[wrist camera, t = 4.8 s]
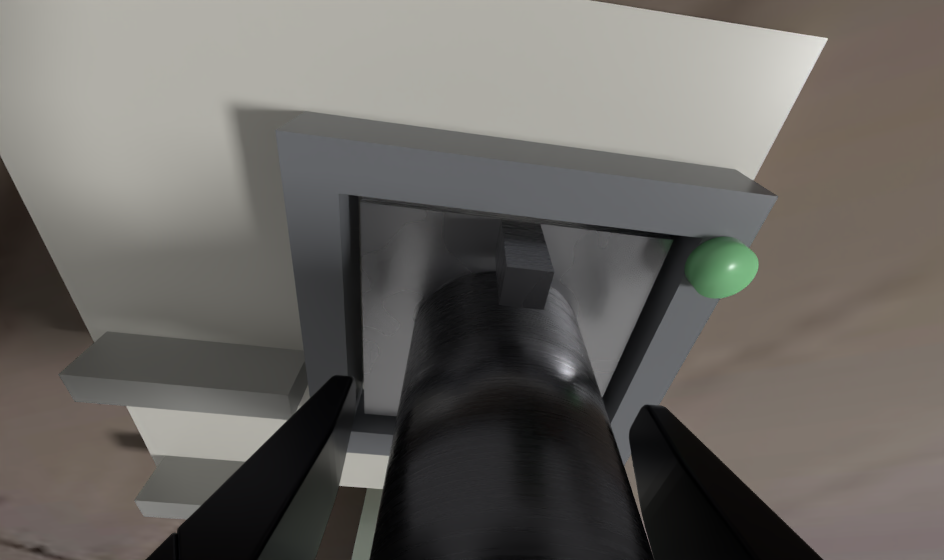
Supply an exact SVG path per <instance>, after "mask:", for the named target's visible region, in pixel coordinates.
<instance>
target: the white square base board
mask: <svg viewBox="0 0 944 560" xmlns="http://www.w3.org/2000/svg"><path fill="white" fill-rule="evenodd" d="M827 40H828V38H822V37H816V36H810V35H803V34H797V33H791V32H785V31H778V30H772V29H766V28H760V27H753V26H747V25H741V24H735V23H728V22H722V21H716V20H710V19H703V18H697V17H691V16H685V15H678V14H672V13H666V12H660V11H653V10H647V9H641V8H635V7H628V6H622V5H616V4H610V3H603V2H597V1H591V0H0V156H1V158H2V160H3V162H4V164H5V166H6V168H7V170H8V172H9V174H10V176H11V178H12V180H13V182H14V184H15V186H16V188H17V190H18V192H19V194H20V196H21V198H22V200H23V202H24V204H25V206H26V208H27V210H28V212H29V214H30V216H31V218H32V220H33V222H34V224H35V226H36V228H37V230H38V232H39V234H40V236H41V237H42V239H43V241H44V243H45V245H46V247H47V249H48V251H49V253H50V255H51V257H52V259H53V261H54V263H55V265H56V267H57V269H58V271H59V273H60V275H61V277H62V279H63V281H64V283H65V285H66V287H67V289H68V291H69V293H70V295H71V297H72V299H73V301H74V303H75V305H76V307H77V309H78V311H79V313H80V315H81V317H82V319H83V321H84V323H85V325H86V327H87V329H88V331H89V333H90V335H91V337H92V339H93V341H94V343H93V344H92V345H91V346H90V347H89V348H88V349H86V350H85V351H84V352H83V353H82V354H81V355H80V356H79V357H77V358H76V359H75V360H74V361H73V362H72V363H71V364H70V365H68V366H67V367H66V368H65V369H64V370H63V371H62V372H61V373H59V374H58V375H59V376H60V378H61V380H62V381H63V383H64V385H65V386H66V388H67V390H68V391H69V393H70V395H71V396H72V398H73V400H74V401H75V402H86V403H97V404H109V405H121V406H126V407H127V409H128V411H129V413H130V415H131V417H132V419H133V420H134V422H135V424H136V426H137V428H138V430H139V432H140V434H141V436H142V438H143V440H144V442H145V444H146V446H147V448H148V450H149V452H150V454H151V456H152V458H153V460H154V462H155V464H156V466H157V468H156V470H155V471H154V472H153V474H152V475H151V477H150V478H149V480H148V481H147V483H146V484H145V486H144V487H143V488H142V490H141V491H140V493H139V494H138V496H137V497H136V499H135V500H134V501H135V503H136V504H137V506H138V508H139V509H140V511H141V513H142V514H143V516H146V517H160V518H174V519H188V518H189V517H190V516H191V515H192V514H193V513H194V512H195V511H196V510H197V509H198V508H199V507H200V506H201V505H202V504H203V503H204V502H205V501H206V500H207V499H208V498H209V497H210V496H211V495H212V494H213V493H214V492H215V491H216V490H217V489H218V488H219V487H220V486H221V485H222V484H223V483H224V482H225V481H226V480H227V479H228V478H229V477H230V476H231V475H232V474H233V473H234V472H235V471H236V470H237V469H238V468H239V467H241V466H242V465H243V464H244V463H245V462H246V461H247V460H248V459H249V458H250V457H251V456H252V455H253V454H254V453H255V452H256V451H257V450H258V449H259V448H260V447H261V446H262V445H263V444H264V443H265V442H266V441H267V440H268V439H269V438H270V437H271V436H272V435H273V434H274V433H275V432H276V431H277V430H278V429H279V428H280V427H281V426H282V425H283V424H284V423H285V422H286V421H287V420H288V419H289V418H290V417H291V416H292V415H293V414H294V413H295V412H296V411H297V410H298V409H299V408H300V407H301V406H302V405H303V404H304V403H305V402H306V401H307V400H308V399H309V398H310V397H311V396H312V395H313V394H315V393H316V392H317V391H318V390H319V389H320V388H321V387H322V386H323V385H324V384H325V383H326V382H327V381H328V380H329V379H330V378H331V377H332V376H334V375H343V376H352V377H354V379H355V387H356V411H355V416H354V421H353V425H352V430H351V435H350V439H349V444H348V448H347V453H346V457H345V462H344V467H343V471H342V476H341V480H340V484H339V486H348V487H362V488H375V489H383V486H384V481H385V475H386V470H387V465H388V460H389V454H390V449H391V444H392V438H393V433H394V428H395V423H396V417H397V416H387V415H376V414H365V411H364V364H363V316H362V269H361V222H360V201H361V200H362V198H363V196H364V197H372V198H380V199H388V200H396V201H404V202H412V203H420V204H429V205H437V206H445V207H453V208H461V209H469V210H477V211H485V212H493V213H502V214H510V215H518V216H526V217H534V218H542V219H550V220H558V221H567V222H575V223H583V224H591V225H599V226H607V227H615V228H623V229H632V230H640V231H648V232H656V233H664V234H669V236H670V237H671V238H672V239H673V242H672V245H671V247H670V249H669V251H668V253H667V256H666V258H665V260H664V262H663V265H662V267H661V269H660V271H659V273H658V276H657V278H656V280H655V282H654V284H653V287H652V289H651V291H650V293H649V295H648V298H647V300H646V302H645V304H644V307H643V309H642V311H641V313H640V315H639V318H638V320H637V322H636V324H635V326H634V329H633V331H632V333H631V335H630V338H629V340H628V342H627V344H626V346H625V349H624V351H623V353H622V355H621V357H620V360H619V362H618V364H617V366H616V368H615V371H614V373H613V375H612V377H611V380H610V382H609V384H608V386H607V388H606V391H605V393H604V395H603V397H602V399H603V402H604V406H605V409H606V412H607V415H608V418H609V421H610V424H611V427H612V430H613V433H614V437H615V440H616V443H617V446H618V449H619V452H620V455H621V458H622V461H623V465H625V463H626V462H627V460H628V458H629V456H630V455H631V449H630V443H629V430H630V427H631V425H632V424H633V422H634V420H635V418H636V416H637V414H638V412H639V411H640V409H641V407H642V406H644V405H646V404H649V405H659V404H660V402H661V401H662V399H663V397H664V395H665V394H666V392H667V390H668V388H669V387H670V385H671V383H672V381H673V380H674V378H675V376H676V374H677V373H678V371H679V369H680V367H681V366H682V364H683V362H684V360H685V359H686V357H687V355H688V353H689V352H690V350H691V348H692V346H693V345H694V343H695V341H696V339H697V338H698V336H699V334H700V333H701V331H702V329H703V327H704V326H705V324H706V322H707V320H708V319H709V317H710V315H711V313H712V312H713V310H714V308H715V306H716V305H717V303H718V301H719V299H720V298H724V297H728V296H731V295H734V294H736V293H738V292H739V291H741V290H743V289H744V288H745V287H746V286H747V285H748V284H750V282H751V281H752V280H753V279H754V277H755V275H756V273H757V270H758V259H757V257H756V255H755V254H754V253H753V252H752V251H751V250H750V249H749V247H750V245H751V244H752V242H753V240H754V238H755V237H756V235H757V233H758V231H759V230H760V228H761V226H762V224H763V223H764V221H765V219H766V217H767V216H768V214H769V212H770V210H771V209H772V207H773V205H774V203H775V202H776V200H777V198H778V196H777V195H775V194H774V193H772V192H770V191H769V190H767V189H766V188H764V187H763V186H761V185H759V184H758V183H756V182H755V181H753V180H754V178H755V177H756V175H757V173H758V171H759V169H760V167H761V165H762V163H763V161H764V159H765V158H766V156H767V154H768V152H769V150H770V148H771V146H772V144H773V142H774V140H775V139H776V137H777V135H778V133H779V131H780V129H781V127H782V125H783V123H784V121H785V119H786V118H787V116H788V114H789V112H790V110H791V108H792V106H793V104H794V102H795V100H796V99H797V97H798V95H799V93H800V91H801V89H802V87H803V85H804V83H805V81H806V80H807V78H808V76H809V74H810V72H811V70H812V68H813V66H814V64H815V62H816V61H817V59H818V57H819V55H820V53H821V51H822V49H823V47H824V45H825V43H826V41H827Z"/></svg>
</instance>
